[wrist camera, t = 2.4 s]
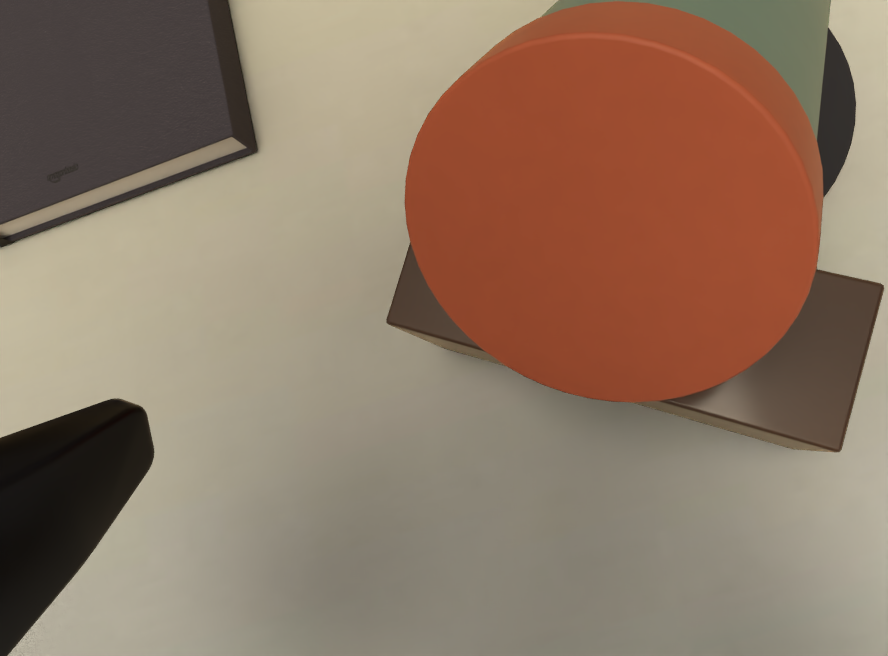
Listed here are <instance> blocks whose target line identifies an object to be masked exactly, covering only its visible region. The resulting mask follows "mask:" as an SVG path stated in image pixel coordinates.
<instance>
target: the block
mask: <svg viewBox="0 0 888 656" xmlns="http://www.w3.org/2000/svg"><path fill="white" fill-rule="evenodd" d="M883 291H884V285H882V284H881V283H876V282H871V281H867V280H862V279H858V278H853V277H849V276H844V275H840V274H835V273H831V272H826V271H822V270H817V269H816V272H815V275H814V279H813V282H812V285H811V288H810V292H809V294H808V296H807V298H806V301H805V303H804V305H803V307H802V309H801V311H800V313H799V315H798V316H797V318H796V319H795V321H794V322H793V324H792V325H791V326H790V328H789V329H788V331H787V332H786V333H785V335H784V336H783V337H782V338H781V339H780V340H779V341H778V342H777V343H776V345H775V346H774V347H773V348H772V349H771V350H770V351H769V352H768V353H767V354H766V355H764V356H763V357H762V358H761V359H759V360H758V361H757V362H755V363H754V364H753V365H752V366H750V367H749V368H748V369H746V370H745V371H743V372H741V373H740V374H738V375H736V376H734V377H733V378H731V379H729V380H727V381H726V382H723V383H721V384H719V385H716V386H714V387H711V388H709V389H707V390H704V391H701V392H698V393H694V394H691V395H687V396H684V397H679V398H673V399H667V400H661V401H650V402H632V403H635V404H639V405H642V406H646V407H649V408H653V409H656V410H660V411H663V412H666V413H670V414H673V415H677V416H680V417H684V418H687V419H691V420H694V421H698V422H701V423H704V424H708V425H711V426H715V427H718V428H722V429H725V430H729V431H732V432H736V433H739V434H743V435H746V436H749V437H753V438H756V439H760V440H763V441H767V442H770V443H774V444H777V445H781V446H784V447H787V448H791V449H797V450H811V451H824V452H840V451H841V449H842V446H843V442H844V438H845V434H846V431H847V427H848V423H849V419H850V415H851V412H852V408H853V404H854V400H855V397H856V393H857V389H858V385H859V382H860V378H861V374H862V370H863V366H864V363H865V359H866V355H867V351H868V348H869V344H870V340H871V336H872V333H873V329H874V325H875V321H876V318H877V314H878V310H879V306H880V302H881V299H882V295H883ZM387 323H388V324H389V325H391V326H393V327H396V328H398V329H400V330H403V331H405V332H407V333H410V334H412V335H414V336H417V337H419V338H421V339H424V340H426V341H428V342H431V343H433V344H435V345H438V346H440V347H442V348H445V349H449V350H452V351H456V352H459V353H463V354H466V355H469V356H473V357H476V358H480V359H483V360H487V361H490V362H494V363H497V364H501V365H504V364H502V363H501V362H499V361H498V360H497V359H495V358H494V357H492V356H491V355H489V354H488V353H487V352H485V351H484V350H483V349H482V348H481V347H479V346H478V345H477V344H476V343H475V342H473V341H472V340H471V339H470V338H469V337H468V336H467V335H466V334H465V333H464V332H463V331H462V330H461V329H460V328H459V327H458V326H457V325H456V324H455V323H454V322H453V320H452V319H451V318H450V317H449V315H448V314H447V313H446V312H445V310H444V309H443V308H442V306H441V305H440V304H439V302H438V301H437V299H436V298H435V296H434V294H433V293H432V291H431V290H430V288H429V286H428V285H427V283H426V280H425V278H424V276H423V274H422V272H421V270H420V268H419V266H418V263H417V260H416V257H415V255H414V252H413V249H412V246H411V242H410V245H409V248H408V251H407V255H406V258H405V261H404V265H403V268H402V271H401V274H400V278H399V281H398V284H397V287H396V291H395V294H394V297H393V301H392V304H391V307H390V310H389V314H388V317H387ZM504 366H505V365H504Z"/></svg>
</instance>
